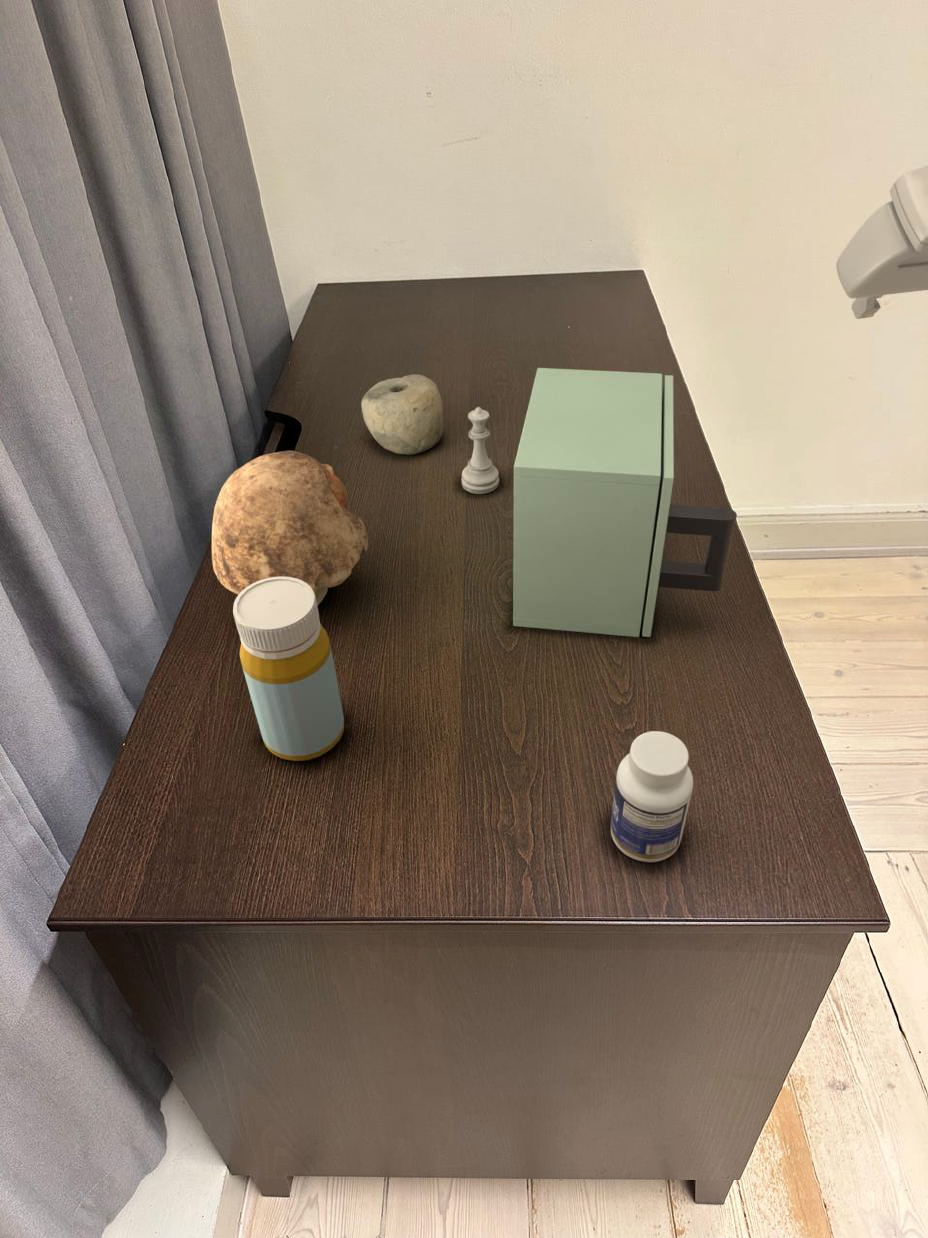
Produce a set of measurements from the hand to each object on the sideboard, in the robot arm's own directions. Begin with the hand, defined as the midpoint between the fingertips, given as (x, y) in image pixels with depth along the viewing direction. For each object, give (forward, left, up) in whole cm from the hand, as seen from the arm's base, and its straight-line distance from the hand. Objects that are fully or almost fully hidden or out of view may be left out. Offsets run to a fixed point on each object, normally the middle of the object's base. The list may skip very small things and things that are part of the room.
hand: (903, 307), depth 85 cm
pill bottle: (+21, +48, -22) cm, 57 cm away
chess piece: (+41, +2, -22) cm, 47 cm away
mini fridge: (+28, +17, -22) cm, 40 cm away
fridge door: (+19, +17, -22) cm, 34 cm away
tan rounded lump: (+56, +24, -22) cm, 65 cm away
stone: (+52, -7, -22) cm, 57 cm away
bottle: (+50, +42, -22) cm, 69 cm away
